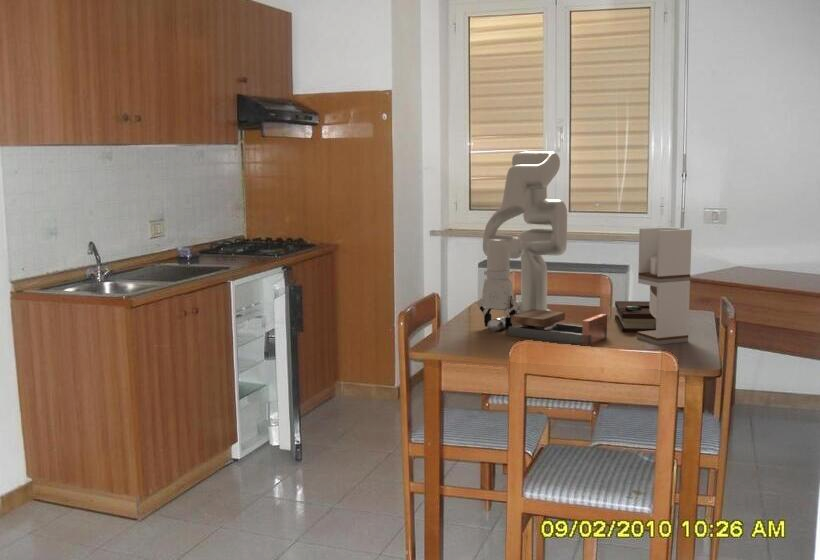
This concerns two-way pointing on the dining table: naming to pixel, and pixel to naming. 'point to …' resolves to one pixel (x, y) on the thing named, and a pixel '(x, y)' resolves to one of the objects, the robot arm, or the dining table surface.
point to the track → (566, 331)
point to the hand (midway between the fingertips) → (498, 326)
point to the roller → (496, 324)
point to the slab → (537, 317)
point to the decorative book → (634, 316)
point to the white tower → (666, 281)
